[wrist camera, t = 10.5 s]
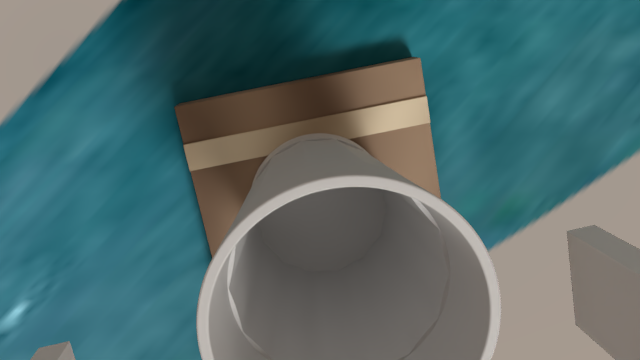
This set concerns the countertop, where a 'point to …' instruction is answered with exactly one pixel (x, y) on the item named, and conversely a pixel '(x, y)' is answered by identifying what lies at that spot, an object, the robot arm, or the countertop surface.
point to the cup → (346, 266)
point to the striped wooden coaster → (305, 131)
